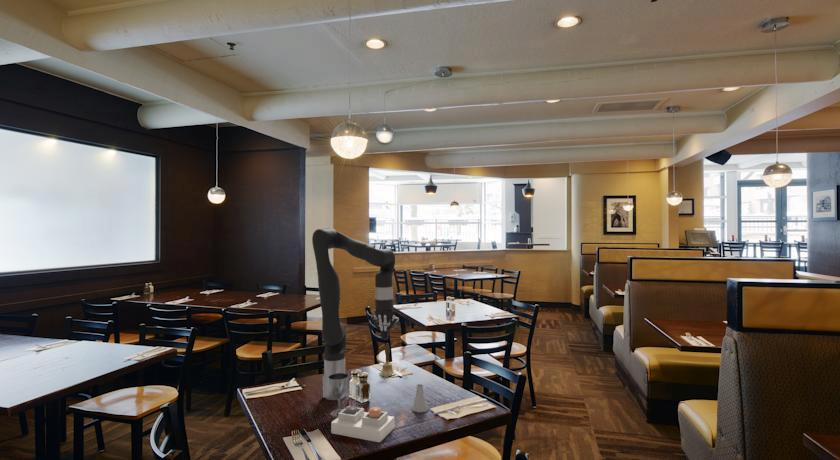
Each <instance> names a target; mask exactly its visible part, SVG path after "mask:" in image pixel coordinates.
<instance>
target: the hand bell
mask: <svg viewBox="0 0 840 460" xmlns="http://www.w3.org/2000/svg"><path fill="white" fill-rule="evenodd" d="M389 343H390V342H389ZM389 343H388V342H386V343H385V346H384V353H385V362H384V363H382V369H381V370H380V372H379V374H380V375H379V376H380V377H383V376H384V377H383V378H389V377H388V376H391V375H392V374H393V373H394V372H395V371H394V368H393V364H392V363H391V362H390V353H391V349H390V345H389ZM391 377H392V376H391Z"/></svg>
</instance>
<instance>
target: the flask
mask: <svg viewBox="0 0 840 460" xmlns="http://www.w3.org/2000/svg"><path fill="white" fill-rule="evenodd" d="M415 388H416V392H415V397H414V400H413V403H412V406H411V411H412V412H415V413H418V414H419V413H427V412H428V411H429V406H428V403H427V400H426V397H425V395H424V384H423V383H417V384H416V385H415Z"/></svg>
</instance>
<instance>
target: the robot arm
mask: <svg viewBox="0 0 840 460" xmlns="http://www.w3.org/2000/svg"><path fill="white" fill-rule="evenodd" d="M311 238H312V239H311V240H312V248H313V253H314V258H315V265H316V271H317V272H316V273H317V285H318V294H319V300H320V308H321V314H322V315H321V317H322V318H321V320H322V321H321V323H322V324H321V325H322V326H321V329H322V331H321V336H322V340H323V341H324V343H325V344H324V352H323V362H324V363H323V367H324V370H323V371H324V372H323V373H324V375H322V398H324V399H326V400H327V401H337V398H336V396H335V395H334V394H333V393H332V392H331V390H330V387H329V376H330V375H331V374H335V373H346V348H347V347H346V346H347V342H346V341H347V339H346V337H347V336H346V335H347V334H346V331H347V330H346V327H345V325H344V324H343V323H342V322H341V319H340V304H341V303H340V301H341V285H340V284H341V283H340V277H339V275H338V273H337V271H336V269H335V267H334V266H333V265H332V262H331V260H330V254H329V249H330V250H331V249H340V250H344V251H346V252H347V253H348V254H349V255H351V256H352V257H355V258H357V259H360V260H363V261H365V262H367V263H369V264H370V265H372V266H375V267H378V268H380V269H379V271H378V272H376V274H375V277H374V280H375V281H374V282H375V283H374V285H375V289H374V306H375V307H374V308H375V311H374V314H373V315H372V316H370V317H369V318H370V321H371V322H372V324H373V325H374V327H375V328H376V329H377V330H379V331H380V338H381V340H383V341H387V340H388V339H389V338H390V337H389V336H390V332H389V331H391V330H392V329H394V327H395V326H396V325H397V323H398V322H399V321H400V317H399V316H398V317H397V316H396V315H395V311H394V289H393V275H394V269H395V266H396V265H395V264H396V256H395V253H394V252H393V250H392V249H389V248H383V249H382V248H375V246H373V245H372V244H370V243H366V242H363V241H360V240H357V239H354V238H352V237H349V236H347V235H345V234H343V233H342V232H340V231H338V230H336V229H334V228H330V227H329V228H318V229H316V230H315V231H313V233H312V237H311ZM346 392H347V390H346V391H345V393H344V394H343V395H342V397H341V400H343V399H344V398H345V397H346V396H347V393H346Z"/></svg>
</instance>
